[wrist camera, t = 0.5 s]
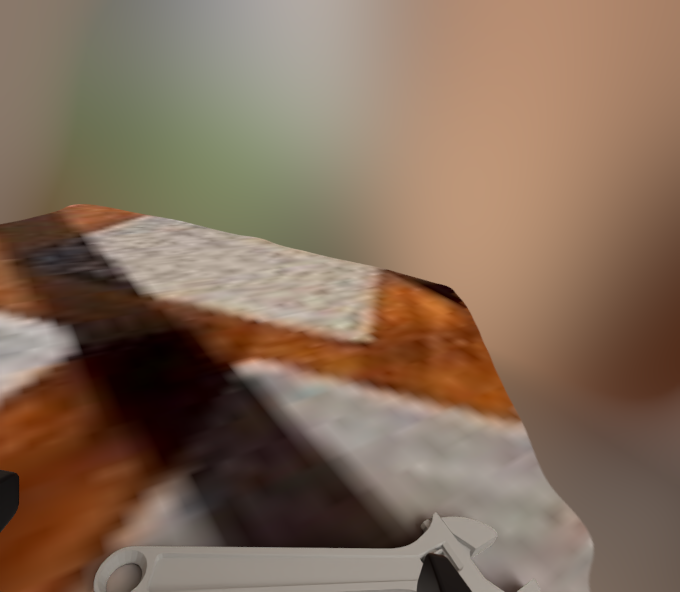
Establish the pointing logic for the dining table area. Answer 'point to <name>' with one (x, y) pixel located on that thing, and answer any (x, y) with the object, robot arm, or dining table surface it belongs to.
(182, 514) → the dining table surface
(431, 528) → the adjustable wrench
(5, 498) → the robot arm
